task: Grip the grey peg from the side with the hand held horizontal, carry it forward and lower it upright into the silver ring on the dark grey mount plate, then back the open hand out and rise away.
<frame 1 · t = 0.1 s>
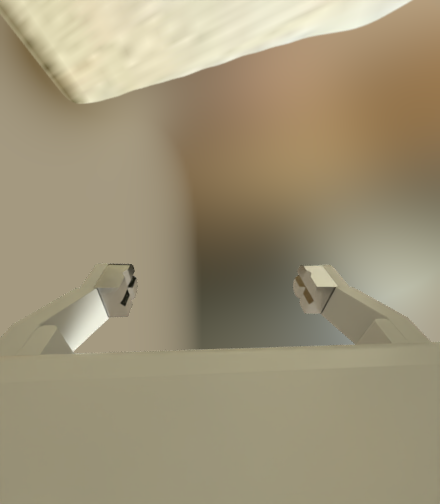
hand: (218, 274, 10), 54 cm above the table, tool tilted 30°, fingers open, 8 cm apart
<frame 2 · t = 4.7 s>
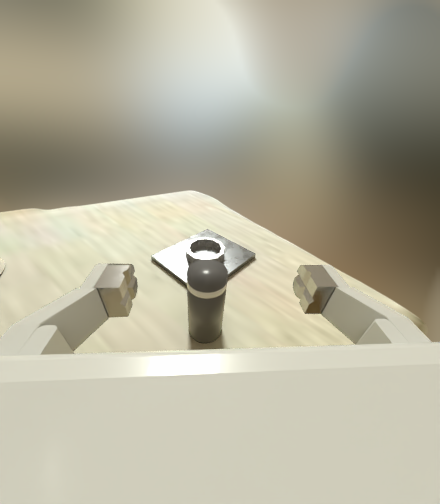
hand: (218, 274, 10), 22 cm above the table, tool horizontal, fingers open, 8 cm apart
mount plate: (205, 258, 48), on the table
grey peg: (205, 327, 33), on the table
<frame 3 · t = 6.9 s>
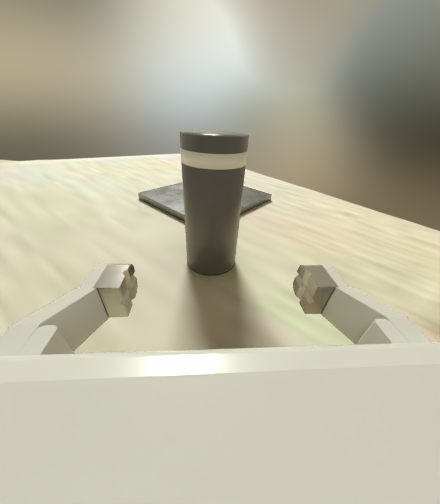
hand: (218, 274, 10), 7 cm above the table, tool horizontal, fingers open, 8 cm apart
mount plate: (207, 199, 37), on the table
grey peg: (211, 259, 22), on the table
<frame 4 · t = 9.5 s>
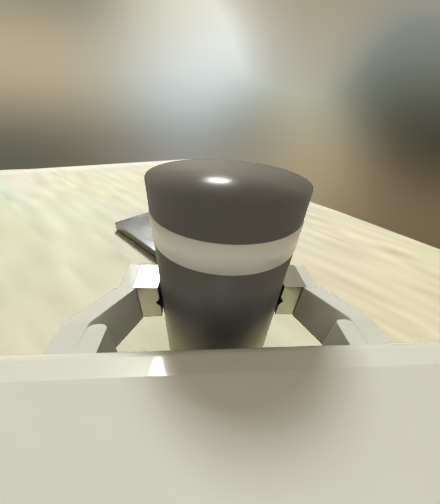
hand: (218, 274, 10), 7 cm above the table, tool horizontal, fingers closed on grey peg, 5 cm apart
mount plate: (208, 228, 28), on the table
grey peg: (213, 363, 13), on the table, touching gripper
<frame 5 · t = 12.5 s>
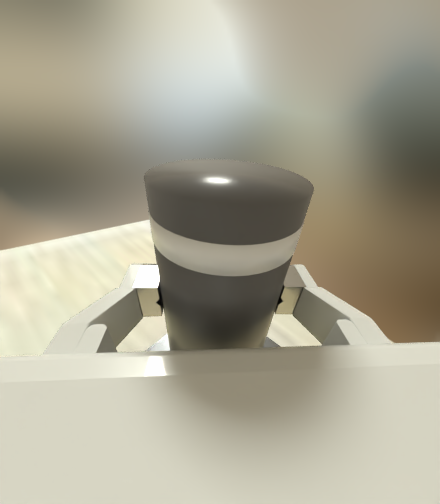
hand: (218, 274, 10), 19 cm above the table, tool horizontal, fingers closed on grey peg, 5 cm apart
mount plate: (209, 384, 23), on the table
grey peg: (213, 363, 13), point 12 cm above the table, touching gripper
when the fingers open (9 cm above the table, at t = 15.5 s): grey peg stays where it is, resting on mount plate.
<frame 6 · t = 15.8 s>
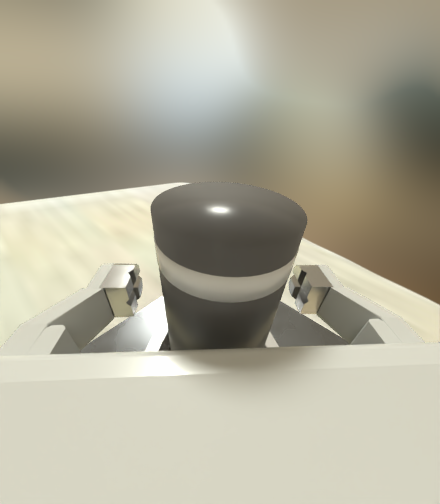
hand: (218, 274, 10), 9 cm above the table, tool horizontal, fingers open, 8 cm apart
mount plate: (212, 376, 15), on the table
grey peg: (213, 370, 14), point 1 cm above the table, touching mount plate
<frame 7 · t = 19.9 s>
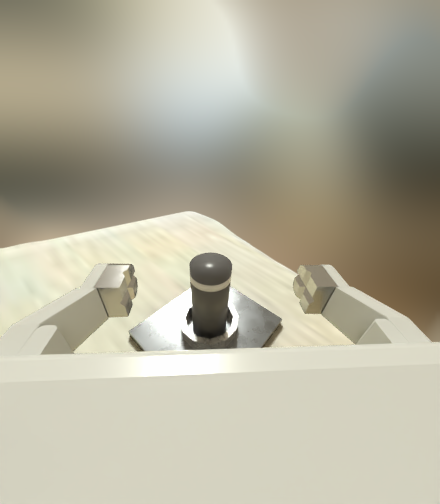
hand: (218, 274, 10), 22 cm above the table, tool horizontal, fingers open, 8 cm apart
mount plate: (208, 328, 32), on the table
grey peg: (209, 324, 32), point 1 cm above the table, touching mount plate
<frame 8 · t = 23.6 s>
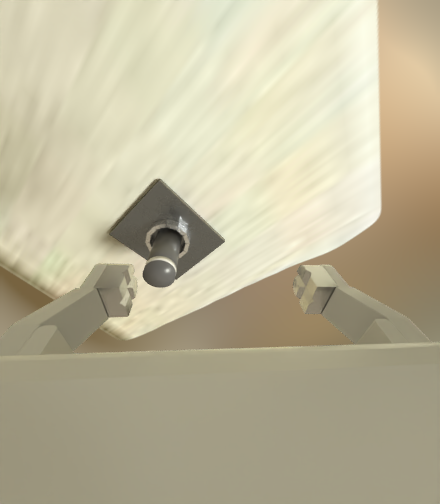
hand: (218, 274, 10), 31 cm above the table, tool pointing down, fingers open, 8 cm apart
mount plate: (169, 235, 44), on the table
grey peg: (169, 238, 43), point 1 cm above the table, touching mount plate
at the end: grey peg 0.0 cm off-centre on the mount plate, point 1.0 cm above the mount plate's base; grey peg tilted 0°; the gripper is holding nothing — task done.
